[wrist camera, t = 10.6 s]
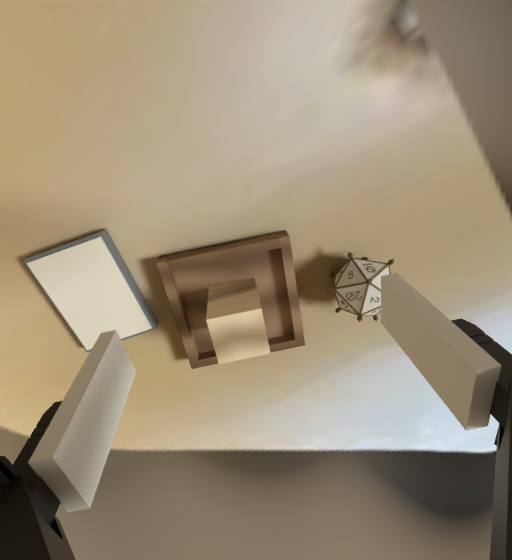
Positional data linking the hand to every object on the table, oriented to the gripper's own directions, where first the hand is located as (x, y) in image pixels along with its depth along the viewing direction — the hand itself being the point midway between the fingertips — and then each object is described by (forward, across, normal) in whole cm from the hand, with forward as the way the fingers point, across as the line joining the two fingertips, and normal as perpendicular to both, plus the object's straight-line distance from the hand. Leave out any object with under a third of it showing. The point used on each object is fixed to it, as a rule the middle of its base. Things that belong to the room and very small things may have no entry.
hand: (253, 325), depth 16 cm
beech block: (+24, -2, -12) cm, 27 cm away
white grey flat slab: (+25, -19, -7) cm, 32 cm away
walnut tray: (+25, -2, -12) cm, 28 cm away
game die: (+25, +14, -12) cm, 31 cm away
